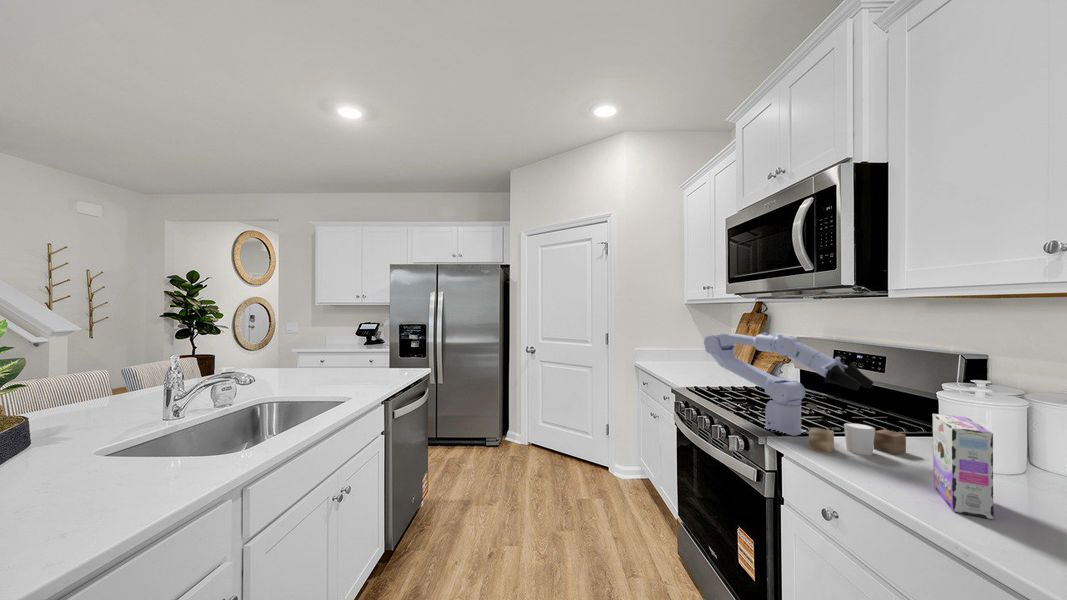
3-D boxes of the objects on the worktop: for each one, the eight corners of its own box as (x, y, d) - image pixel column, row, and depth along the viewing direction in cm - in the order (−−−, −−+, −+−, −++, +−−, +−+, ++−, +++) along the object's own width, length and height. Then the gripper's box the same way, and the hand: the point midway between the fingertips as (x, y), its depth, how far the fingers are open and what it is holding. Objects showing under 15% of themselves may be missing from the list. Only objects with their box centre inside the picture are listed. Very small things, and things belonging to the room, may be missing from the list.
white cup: (882, 456, 111) (882, 429, 111) (856, 456, 111) (856, 429, 111) (862, 447, 118) (862, 422, 118) (837, 447, 118) (837, 422, 118)
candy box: (995, 521, 78) (994, 432, 78) (952, 512, 81) (951, 427, 81) (969, 492, 89) (968, 416, 89) (932, 486, 92) (931, 412, 93)
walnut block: (873, 449, 116) (873, 431, 116) (884, 447, 118) (884, 429, 118) (894, 455, 112) (894, 436, 112) (905, 452, 114) (905, 434, 114)
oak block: (808, 449, 116) (808, 431, 116) (812, 444, 120) (812, 427, 120) (830, 453, 113) (830, 435, 113) (833, 449, 117) (833, 431, 117)
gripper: (809, 349, 120) (859, 375, 109) (834, 348, 128) (884, 372, 117) (798, 370, 123) (846, 397, 112) (823, 368, 130) (871, 393, 119)
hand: (865, 386), depth 114 cm, fingers open, 7 cm apart
